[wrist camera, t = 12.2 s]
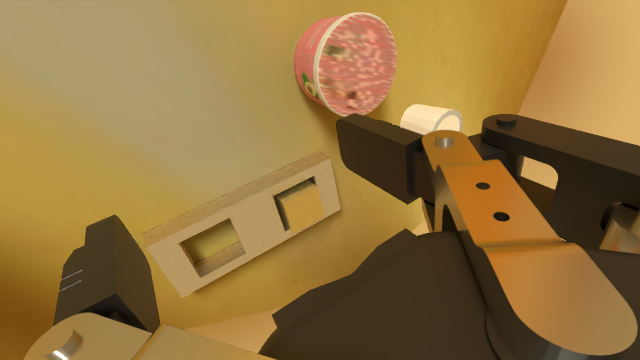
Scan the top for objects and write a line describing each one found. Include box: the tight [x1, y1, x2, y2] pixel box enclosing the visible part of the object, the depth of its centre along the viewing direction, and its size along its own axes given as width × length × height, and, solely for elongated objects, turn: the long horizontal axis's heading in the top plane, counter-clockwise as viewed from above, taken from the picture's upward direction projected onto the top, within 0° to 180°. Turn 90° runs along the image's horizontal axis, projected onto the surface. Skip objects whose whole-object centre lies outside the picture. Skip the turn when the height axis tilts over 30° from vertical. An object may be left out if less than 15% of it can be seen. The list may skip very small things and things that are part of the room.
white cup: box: [400, 104, 462, 135], centre depth 49 cm, size 7×7×7 cm
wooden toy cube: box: [273, 179, 325, 234], centre depth 43 cm, size 5×5×5 cm
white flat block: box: [144, 151, 340, 298], centre depth 41 cm, size 24×9×3 cm, turn 103°
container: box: [294, 12, 397, 117], centre depth 36 cm, size 10×10×8 cm
